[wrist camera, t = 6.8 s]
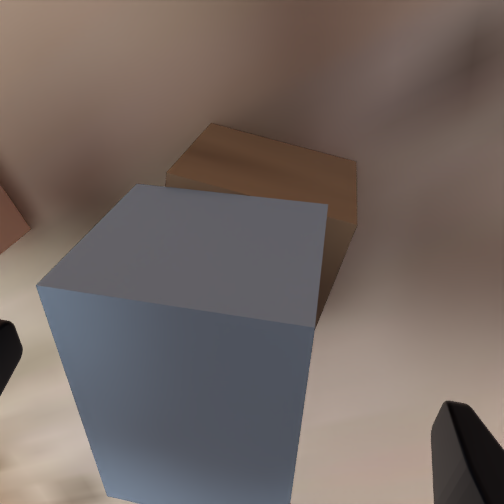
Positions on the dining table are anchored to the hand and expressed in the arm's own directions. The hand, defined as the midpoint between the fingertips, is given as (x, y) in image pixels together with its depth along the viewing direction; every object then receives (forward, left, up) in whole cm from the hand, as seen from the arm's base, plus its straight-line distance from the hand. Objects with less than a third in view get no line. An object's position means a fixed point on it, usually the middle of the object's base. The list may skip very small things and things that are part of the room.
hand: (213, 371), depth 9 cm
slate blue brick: (0, 0, -2) cm, 2 cm away
